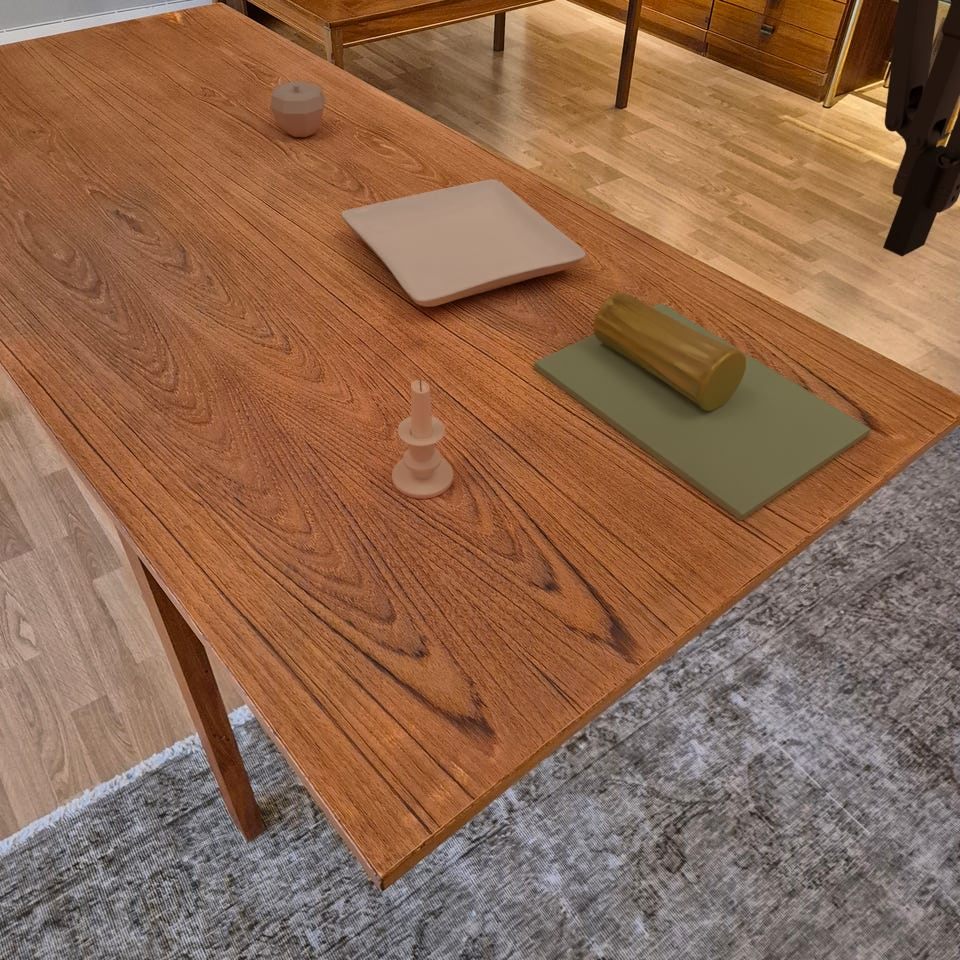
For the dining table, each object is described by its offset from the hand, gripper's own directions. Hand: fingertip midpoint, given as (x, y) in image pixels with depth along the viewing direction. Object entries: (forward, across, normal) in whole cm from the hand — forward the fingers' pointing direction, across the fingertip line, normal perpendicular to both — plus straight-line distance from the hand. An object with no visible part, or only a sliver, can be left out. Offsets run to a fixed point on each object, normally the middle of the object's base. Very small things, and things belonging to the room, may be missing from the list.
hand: (903, 246), depth 61 cm
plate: (+23, -48, -2) cm, 53 cm away
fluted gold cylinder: (+19, -11, 0) cm, 21 cm away
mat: (+22, -14, 0) cm, 26 cm away
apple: (+23, -89, +1) cm, 92 cm away
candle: (+23, -20, -26) cm, 40 cm away
